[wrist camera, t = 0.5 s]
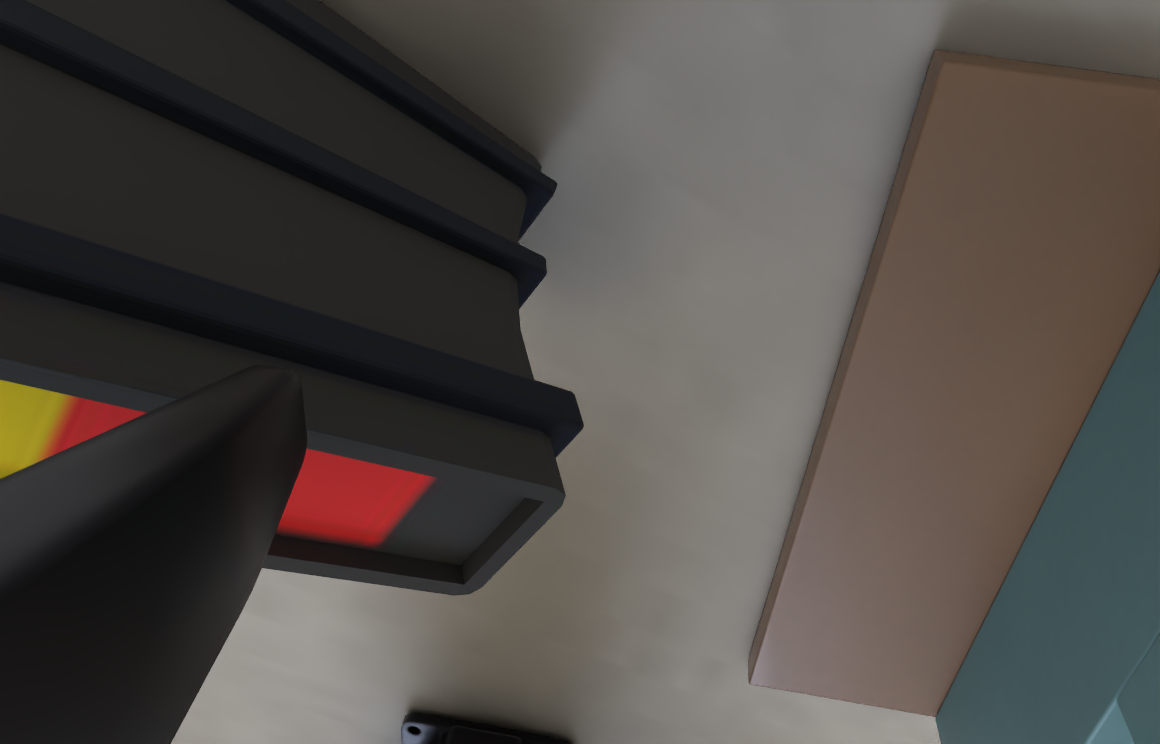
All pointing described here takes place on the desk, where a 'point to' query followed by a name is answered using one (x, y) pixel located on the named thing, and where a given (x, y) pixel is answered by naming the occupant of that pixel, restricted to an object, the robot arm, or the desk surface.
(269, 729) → the desk surface
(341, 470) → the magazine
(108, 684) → the robot arm
